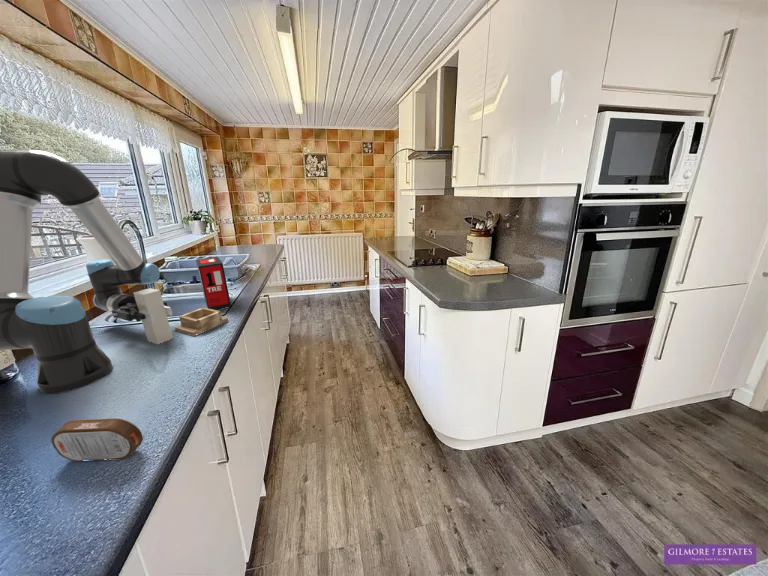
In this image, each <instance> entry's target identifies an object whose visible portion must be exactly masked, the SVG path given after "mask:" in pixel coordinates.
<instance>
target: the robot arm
mask: <svg viewBox="0 0 768 576" xmlns="http://www.w3.org/2000/svg"><path fill="white" fill-rule="evenodd" d="M100 195H101V193H100V191H99V189H98V188H97V187H96V185H95V183H93V181H92V180H91V179H90V178H89V177H88V176H87V175H86V174H85V173H84V172H82V171H81V170H80V169H79V168H78V167H76V166H75V165H74V164H73V163H71V162H70V161H67V160H66V159H65V158H63V157H61V156H59V155H57V154H54V153H52V152H49V151H44V150H38V149H29V150H28V149H27V150H4V151H3V150H2V151H1V150H0V351H11V350H25V349H26V350H27V349H32V350H33V353H34V355H35V358H36V360H37V363H38V365H37V378H36V384H37V387H38V389H39V391H40V393H42V394H45V395H47V394H48V395H50V394H51V395H52V394H60V393H66V392H69V391H73V390H78V389H80V388H83V387H86V386H88V385H91V384H93V383H95V382H96V381H98V380H100V379H102V378H104V377H105V376H107V375H108V374H109V373H110V372H111V371H112V370H113V367H114V366H113V363H112V361H111V358H109V356H108V355H107V354H106V353H105V352H104V351H103V350H102V349H101V348H100V347H99V346H98V345H97V343H96V340H95V337H94V334H93V331H92V328H91V325H90V322H89V319H88V317H87V313H86V310H85V308H84V307H83V305H82V302H80V300H79V299H77V298H76V297H74V296H70V295H47V296H39V297H33V296H32V295H30V293H29V283H30V281H29V280H30V266H31V265H30V262H31V244H32V224H33V210H36V209H38V208H40V207H41V205H42V196H52V197H53V198H55V199H56V200H57V201H58V202H59V203H60V205H62V206H64V207H68V208H69V209H70V210H71V212H73V214H74V215H75V216H76V217H77V218H78V220H79V221H80V222H81V224H83V226H84V227H85V229H86V230H88V232H89V234H91V235H92V237H93V238H94V239H95V241H96V242H97V243H98V244H99V245H100V247H101V248H102V249H103V250H104V251H105V252H106V254H107V255H108V257H109V258H110V259H108V258H107V259H97V260H93V261H92V260H91V261H88V262H87V263H86V264H85V268H86V271H87V276H88V278H89V281H90V283H91V286H92V288H93V293H94V295H93V298H92V302H93V305H94V306H95V307H97V308H98V309H100V310H102V311H105V312H110V313H111V314H112V317H113V318H114V319H118V318H119V319H121V320H124V321H127V322H133V321H134V320H136V321H135V322H142V320H147V321H150V322H154V317H153V314H152V313H149V312H145V311H139V310H138V307H137V303H136V300H135V297H134V295H130V294H126V293H123V292H122V289H121V286H128V285H129V286H130V285H131V286H132V285H151V284H154V283H156V282H158V280H160V279H159V278H160V274H161V273H160V269H159V267H158V266H157V265H156V264H154V263H151V262H147V263H146V262H145V260H144V259H143V258H142V256H141V255H140V253H139V252H138V251H137V249H136V247H134V245H133V243H132V242H131V241H130V240H129V238H128V237H127V235H126V234H125V233H124V231H123V229H122V228H121V227H120V226H119V224H118V223H117V221H116V220H115V219H114V217H113V216H112V214H111V213H110V211H109V210H108V209H107V207H106V206H105V204H104V203H103V202H102V200H101V199H100ZM163 304H164V307H165V311H166V315H167V316H173V310H172V307H170V306H168V302H167V301H164V300H163Z"/></svg>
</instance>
